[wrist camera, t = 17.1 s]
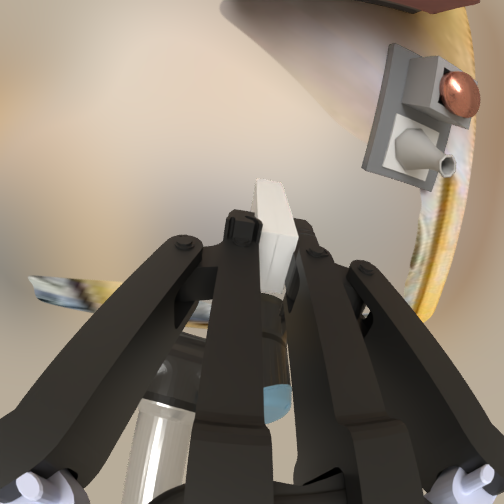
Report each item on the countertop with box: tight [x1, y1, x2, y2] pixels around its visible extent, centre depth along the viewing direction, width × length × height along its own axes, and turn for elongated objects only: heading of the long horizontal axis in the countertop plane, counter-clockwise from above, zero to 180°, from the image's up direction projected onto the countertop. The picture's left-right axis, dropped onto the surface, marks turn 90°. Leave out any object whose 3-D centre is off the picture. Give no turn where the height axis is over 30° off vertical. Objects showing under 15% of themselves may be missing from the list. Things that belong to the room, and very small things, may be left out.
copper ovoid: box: [438, 71, 480, 118], centre depth 26 cm, size 6×6×8 cm
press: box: [362, 43, 477, 192], centre depth 31 cm, size 22×14×10 cm, turn 170°
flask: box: [395, 128, 456, 177], centre depth 32 cm, size 7×7×10 cm
